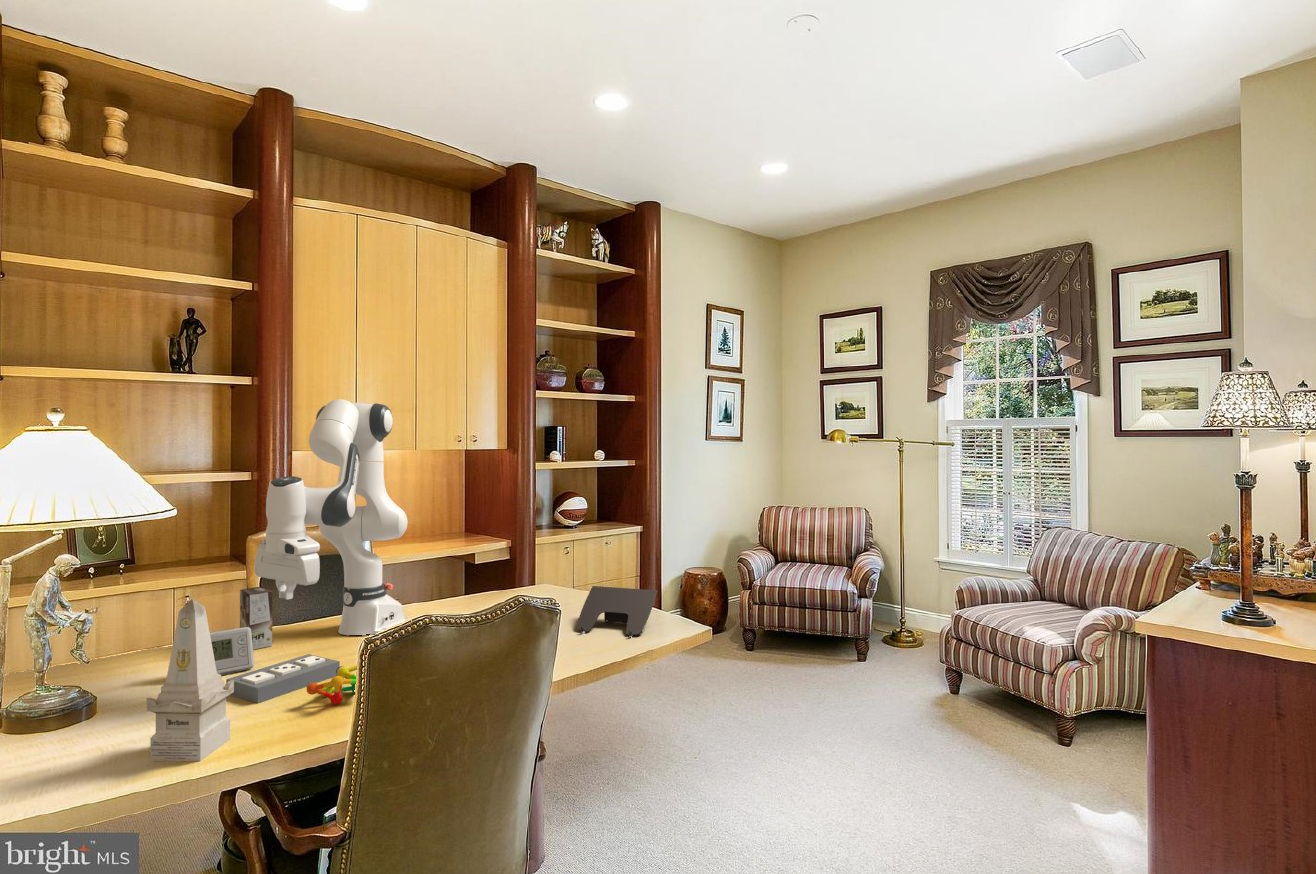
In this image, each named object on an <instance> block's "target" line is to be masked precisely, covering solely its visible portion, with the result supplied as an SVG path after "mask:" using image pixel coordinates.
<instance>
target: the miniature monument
mask: <svg viewBox="0 0 1316 874" xmlns="http://www.w3.org/2000/svg"><path fill="white" fill-rule="evenodd" d="M208 621H209V620H208V616H207V611H206V607H205V606H204V605H203V604H201V603H200V602H198V601H197V600H196V599H194V598H191V599H190V600H189V601H188V602H187V603H186V604H185V605H184V606H183V607H182V608H181V609H180V610H178V616H177V620H176V627H175V631H174V637H173V642H172V646H171V652H170V653H171V654H170V659H169V663H168V670H167V675H166V680H165V683H164V684H163V685H162V686H161V687H160V692H159V693H158V694H157V698H152V697H147V698H146V699H145V700H146V703H145V708H146V712H147V713H155V733H154V734H153V735H152V736H151V737H150V739H149V740H150V742H149V743H150V745H149V746H150V748H149V749H150V752H149V753H150V754H149V755H150V757H149V759H150V760H162V762H165V760H169V761H168V762H178V761H177V760H180V761H179V762H201V761H203V760H204V759H205V758H207V757H208V756H209V755H211V754H213V753H214V752H215V751H216V750H218V749H219V748H220V747H222V746H223V745H225V744H226V743H228V742H229V741H230V740H231V718H230V717H228V716H227V714H226V713H227V709H226V708H227V706H226V704H227V702H226V701H227V697H228V696H231V695H230V694H231V693H233V692H234V680H230V681H228V682H227V683H225V681H224V679H222V676H221V675H220V674H218V673H217V670H216V665H215V659H214V654H213V648H212V642H211V637H210V632H211V631H210V627H209V622H208ZM224 743H225V744H224ZM150 760H149V761H150Z"/></svg>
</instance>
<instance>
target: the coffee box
mask: <svg viewBox="0 0 1316 874" xmlns="http://www.w3.org/2000/svg"><path fill="white" fill-rule="evenodd" d="M244 627H249V628H250V629H251V634H252V646H253V651H254V650H257V649H263V648H268V647H272V646H273V590H270V589H268V588H266V587H264V586H256V587H248V588H243V589H239V628H244Z"/></svg>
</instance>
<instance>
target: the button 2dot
mask: <svg viewBox="0 0 1316 874" xmlns="http://www.w3.org/2000/svg"><path fill="white" fill-rule="evenodd" d="M316 656H317V655H315V656H310V657H307V658H304V659H301V660H297V661H295V664H297V665H301V666H305V667H310V666H313V665H316V664H319V663H322V662H325V659H324V658H325V657H323V658H320V657H321V656H319V657H316Z"/></svg>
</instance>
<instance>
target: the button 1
mask: <svg viewBox="0 0 1316 874" xmlns="http://www.w3.org/2000/svg"><path fill="white" fill-rule="evenodd" d="M273 678H275V675H272V674H269V673H265V672H259V673H255V674H252V675H249V676H246V677H243V678H242V681H244V682H247V683H251V684H257V683H260V682H263V681H266V680H269V679H273Z"/></svg>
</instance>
